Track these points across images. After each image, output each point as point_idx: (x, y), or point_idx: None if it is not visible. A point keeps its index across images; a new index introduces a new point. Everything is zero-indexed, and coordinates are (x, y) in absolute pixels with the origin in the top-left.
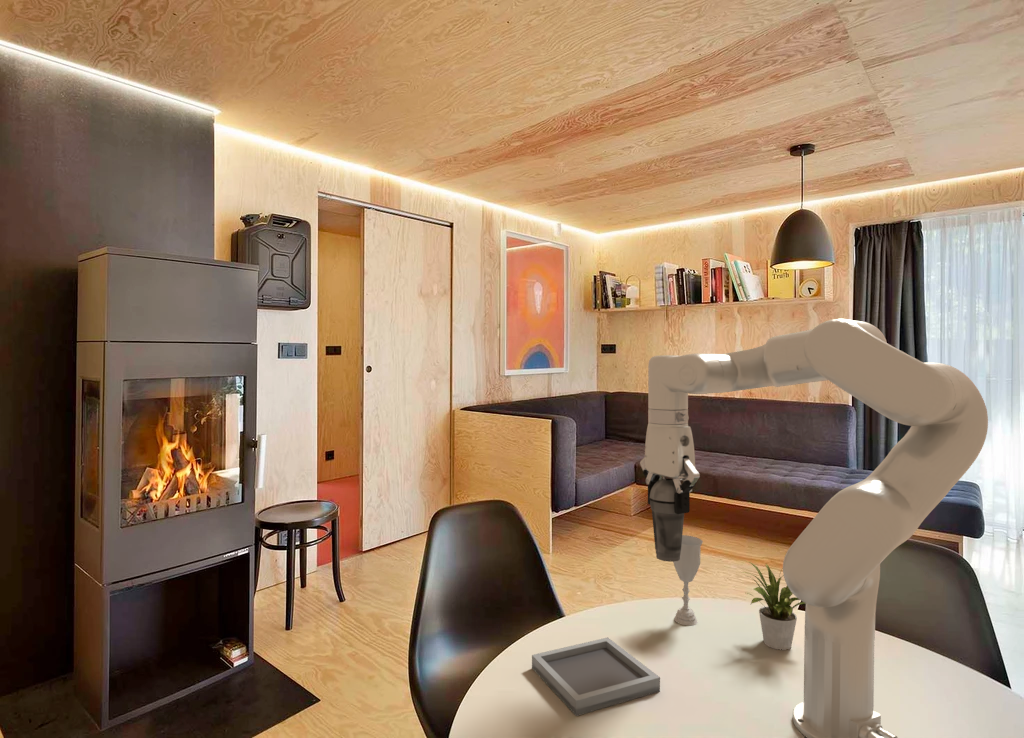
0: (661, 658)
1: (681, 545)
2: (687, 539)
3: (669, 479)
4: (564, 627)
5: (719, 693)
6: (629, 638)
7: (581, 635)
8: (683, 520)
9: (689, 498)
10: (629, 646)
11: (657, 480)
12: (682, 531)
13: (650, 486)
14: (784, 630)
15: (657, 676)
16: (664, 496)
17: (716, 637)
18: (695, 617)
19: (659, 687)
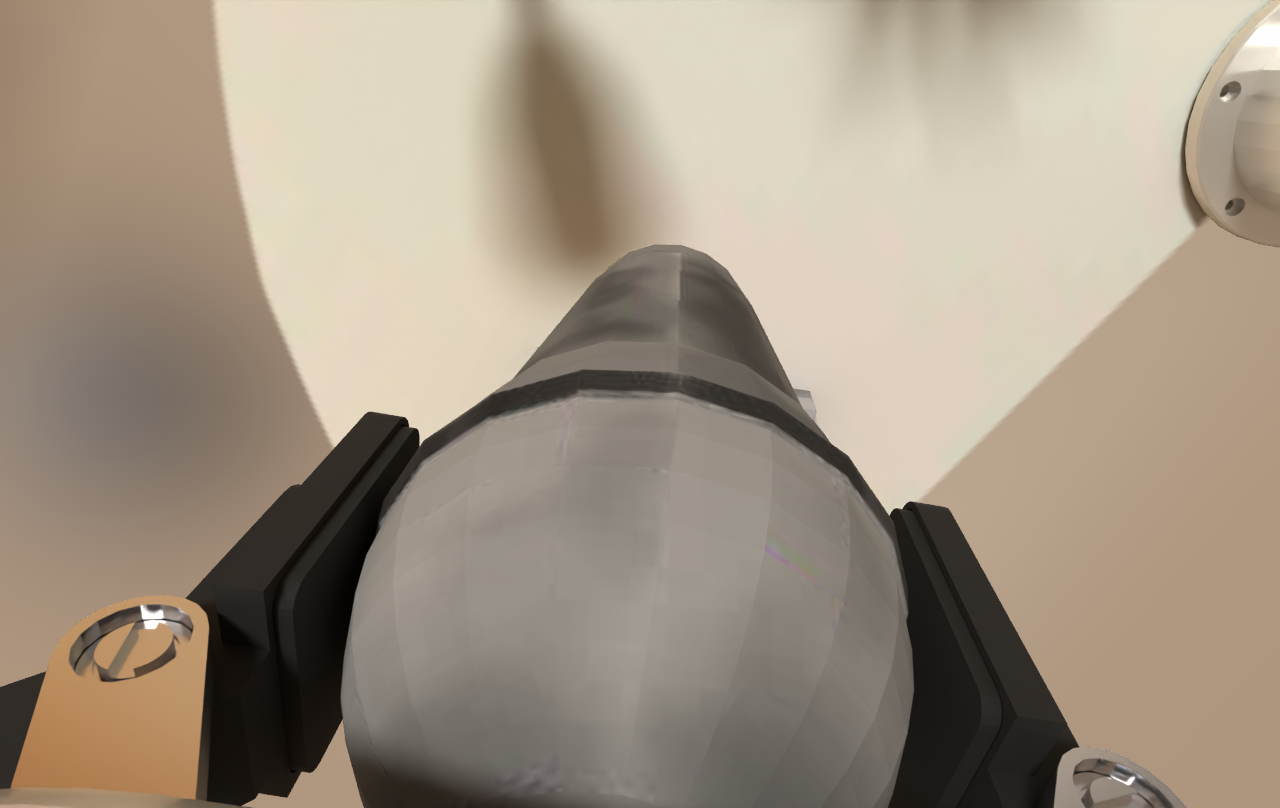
0: (681, 236)
1: (742, 295)
2: None
3: (511, 805)
4: (334, 361)
5: (941, 250)
6: (509, 222)
7: (411, 351)
8: (783, 379)
9: (1013, 626)
10: (556, 268)
11: (212, 722)
12: (775, 355)
13: (306, 769)
14: None
15: (807, 412)
16: None
17: None
18: None
19: (810, 397)
